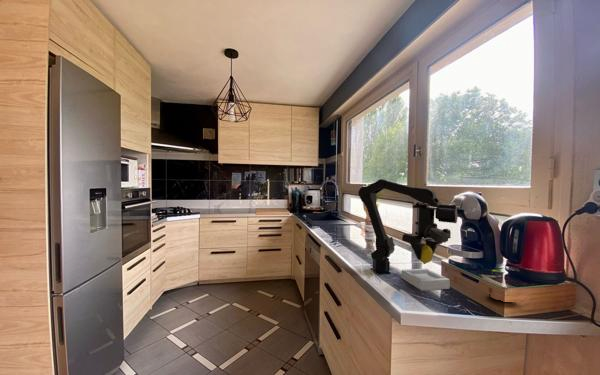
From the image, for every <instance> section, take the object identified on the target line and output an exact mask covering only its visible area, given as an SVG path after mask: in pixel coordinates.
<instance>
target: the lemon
mask: <svg viewBox="0 0 600 375" xmlns="http://www.w3.org/2000/svg"><path fill="white" fill-rule="evenodd" d="M424 244H425V245H424V246H423V247H422V253H421V260H419V261H420V262H421V263H422V264H423V265H426V264H428V263H430V262H432V260H433V257H434V254H433V252H432V249H431V248H430V247H429V246H427V245H426V243H424Z"/></svg>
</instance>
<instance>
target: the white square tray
mask: <svg viewBox="0 0 600 375" xmlns="http://www.w3.org/2000/svg"><path fill="white" fill-rule="evenodd" d="M401 279H403V281H406V282H408V283H409V284H411V285H412V286H413V287H415V288H416V289H418V290H420V291H434V290H436V291H437V290H449V289H450V287H451V286H450V284H451V282H450V280H451V279H450V278H448V277H445V276H444V275H441V274H439V273H437V272H435V271H433V270H430V269H429V268H411V269H410V268H409V269H401Z"/></svg>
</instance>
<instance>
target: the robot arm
mask: <svg viewBox="0 0 600 375" xmlns="http://www.w3.org/2000/svg"><path fill="white" fill-rule="evenodd" d="M384 189H385V190H388V191H390V192H394V193H399V194H402V195H404V196H408V197H410V198H412V199H414V200H416V201H417V202H416V203H415V204H414V205H413V206H412V208H413V209H417V210H418V212H417V213H418V214H417V221H415V225H417V231H415V232H414V233H409V232H408V233H403V234H402V237H401V238H402V239H401V240H402V241H403V242H406V243H409V244H410V246H411V248H412V250H413V252H414V255H415V256H416V259H417V260H418V261H420V260H421V253H422V247H423V246H424V245H425V244H426V245H427V246H429V247H430V248H431V249H432V252H433V255H434V254H435V251H436V249H437V248H438V246H440V245H442V244H444V243H445V244H446V243H447V242H449V239H451V235H452V234H451V230H450V229H449V228H443V229H442V228H439V227H438V224H437V223H435V219H436V220H437V221H438V222H440V223H441V222H442V223H451V224H457V223H458V208H457V204H443V203H441V202H440V200H439V199H438V198H437V194H436V191H435V190H434V189H431V188H425V187H424V188H423V187H415V186H409V185H405V184H402V183H398V182H393V181H389V180H387V179H382V178H380V179H378V180H377V181H375V182H372V183H371V184H368V185H367V186H362V187H360V188H359V190H358V197H359V199H360V201H361V202H362V204H364V206H365V207H366V209H367V210H366V211H367V213H368V216H369V219H370V223H371V225H372V228H373V232H374V236H375V243H374V244H375V248H376V249H375V250H374V251H373V252H372V253H370V255H371V259H372V267H370V270H371V271H372V272H374V273H375V274H377V275H389V274H391V273H392V272H390V268H391V267H390V266H391V265H390V256H391V255H392V254H393V253H394V252H395V246H396V244H395V243H394V239H393V237H392V236H391V237H389V236H388V235H387V232H386V229H385V227H384V223H383V221H382V217H381V215H380V212H379V209H378V206H377V205H378V204H377V201H378V200H377V194H379V193H380V192H382V191H383V190H384ZM423 241H425V243H424V242H423Z"/></svg>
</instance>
